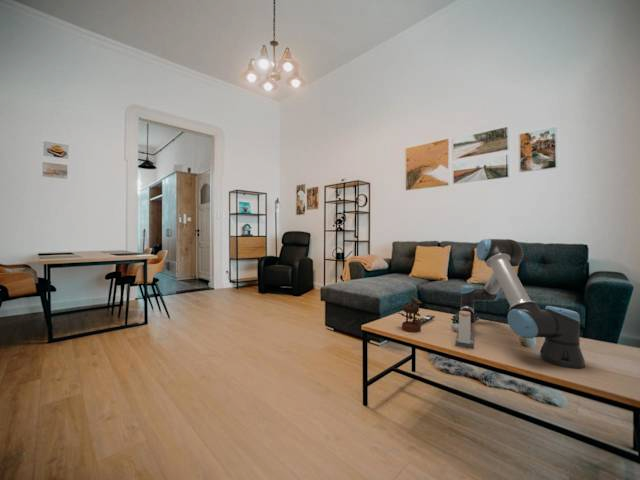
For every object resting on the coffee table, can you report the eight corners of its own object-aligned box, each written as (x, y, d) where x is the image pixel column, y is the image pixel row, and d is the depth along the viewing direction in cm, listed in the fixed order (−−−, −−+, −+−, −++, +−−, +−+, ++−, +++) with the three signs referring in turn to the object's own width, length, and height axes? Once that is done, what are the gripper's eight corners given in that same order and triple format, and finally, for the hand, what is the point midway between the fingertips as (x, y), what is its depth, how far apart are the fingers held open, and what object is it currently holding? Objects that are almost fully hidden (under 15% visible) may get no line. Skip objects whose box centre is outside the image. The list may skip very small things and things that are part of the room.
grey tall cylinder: (458, 338, 145) (459, 310, 145) (470, 340, 143) (470, 311, 143) (458, 341, 141) (458, 312, 141) (470, 343, 138) (470, 314, 138)
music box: (426, 330, 166) (426, 296, 165) (418, 336, 158) (417, 300, 157) (403, 324, 177) (402, 292, 176) (393, 329, 169) (393, 296, 168)
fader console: (457, 335, 157) (457, 331, 157) (473, 338, 154) (473, 334, 154) (455, 345, 142) (455, 341, 142) (473, 348, 138) (473, 344, 138)
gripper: (479, 321, 168) (479, 332, 148) (454, 318, 175) (451, 328, 154) (479, 308, 168) (479, 317, 148) (454, 306, 175) (452, 314, 154)
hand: (465, 323), depth 151 cm, fingers closed
